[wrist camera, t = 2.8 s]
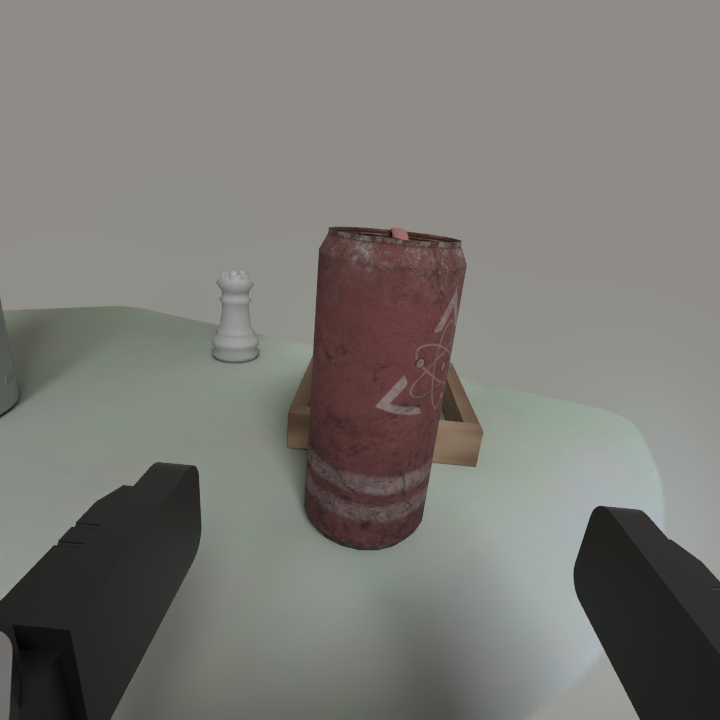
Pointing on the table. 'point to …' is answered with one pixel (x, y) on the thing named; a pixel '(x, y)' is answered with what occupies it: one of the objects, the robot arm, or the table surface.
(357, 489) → the can
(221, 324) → the rook chess piece
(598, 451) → the table surface
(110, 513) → the robot arm
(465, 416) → the walnut collar
